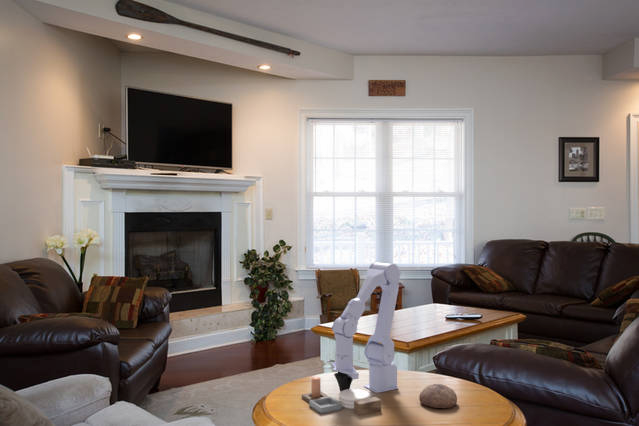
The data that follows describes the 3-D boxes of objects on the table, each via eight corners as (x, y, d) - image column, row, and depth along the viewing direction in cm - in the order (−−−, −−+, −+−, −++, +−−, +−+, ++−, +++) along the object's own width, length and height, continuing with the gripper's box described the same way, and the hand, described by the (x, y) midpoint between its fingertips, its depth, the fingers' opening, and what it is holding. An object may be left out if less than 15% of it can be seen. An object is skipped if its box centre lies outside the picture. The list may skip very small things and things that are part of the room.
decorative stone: (443, 411, 165) (442, 393, 165) (412, 402, 174) (411, 385, 174) (464, 401, 173) (463, 384, 173) (433, 393, 182) (432, 377, 182)
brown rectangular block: (375, 407, 170) (375, 396, 170) (381, 411, 167) (381, 399, 167) (354, 412, 166) (354, 401, 166) (359, 415, 164) (359, 404, 164)
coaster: (375, 402, 175) (375, 391, 175) (360, 412, 167) (360, 400, 167) (348, 396, 180) (348, 386, 180) (333, 405, 172) (333, 394, 172)
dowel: (317, 397, 180) (317, 376, 180) (322, 400, 177) (322, 379, 177) (309, 398, 178) (309, 377, 178) (314, 401, 176) (314, 380, 176)
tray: (330, 402, 175) (330, 396, 175) (342, 410, 168) (342, 403, 168) (309, 406, 171) (309, 400, 171) (320, 414, 165) (320, 408, 165)
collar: (320, 394, 183) (320, 391, 182) (330, 401, 176) (330, 397, 176) (301, 398, 179) (301, 394, 179) (311, 404, 173) (311, 401, 173)
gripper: (323, 350, 184) (323, 390, 184) (345, 361, 171) (345, 403, 171) (341, 348, 187) (341, 387, 187) (363, 358, 174) (364, 400, 174)
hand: (344, 395), depth 179 cm, fingers closed
